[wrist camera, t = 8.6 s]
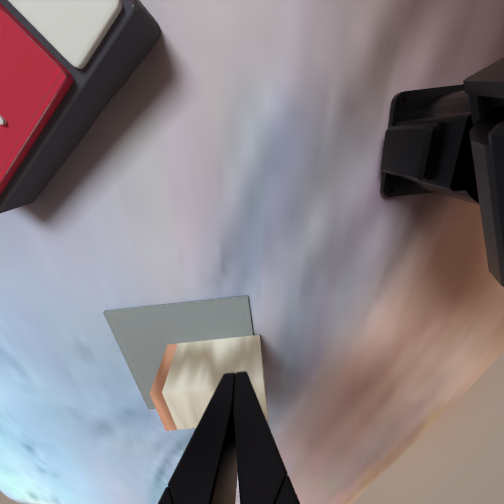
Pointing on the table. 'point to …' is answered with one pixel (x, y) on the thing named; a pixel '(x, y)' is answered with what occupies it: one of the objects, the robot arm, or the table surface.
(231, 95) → the table surface
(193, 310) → the mat
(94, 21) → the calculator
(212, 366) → the block
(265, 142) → the table surface
